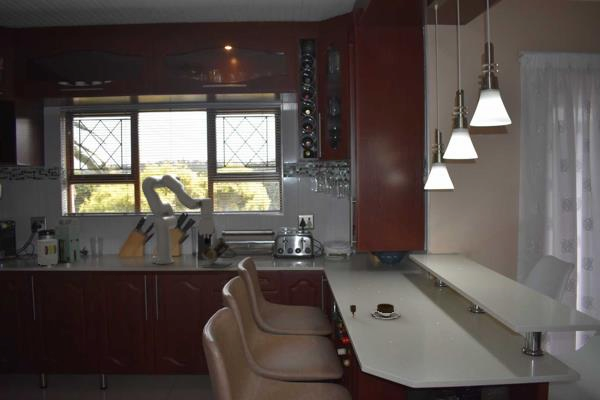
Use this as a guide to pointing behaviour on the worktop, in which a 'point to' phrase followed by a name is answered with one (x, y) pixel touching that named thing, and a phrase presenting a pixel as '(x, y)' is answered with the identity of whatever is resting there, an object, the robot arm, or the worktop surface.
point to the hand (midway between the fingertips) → (207, 244)
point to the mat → (218, 265)
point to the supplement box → (47, 251)
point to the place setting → (380, 307)
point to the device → (67, 239)
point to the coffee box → (215, 250)
